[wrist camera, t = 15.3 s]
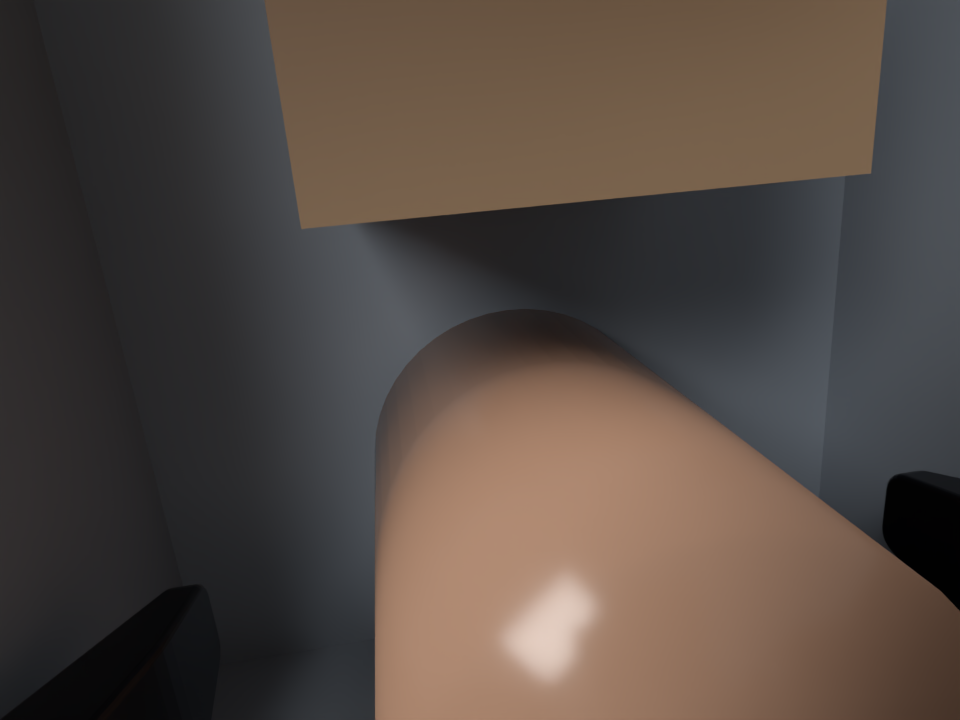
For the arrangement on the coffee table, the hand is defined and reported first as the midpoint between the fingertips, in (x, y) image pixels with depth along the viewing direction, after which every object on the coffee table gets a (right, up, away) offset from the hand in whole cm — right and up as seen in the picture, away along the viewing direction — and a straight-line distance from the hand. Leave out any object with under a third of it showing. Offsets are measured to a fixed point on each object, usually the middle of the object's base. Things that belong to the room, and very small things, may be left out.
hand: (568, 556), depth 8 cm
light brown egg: (-1, +1, +3) cm, 3 cm away
